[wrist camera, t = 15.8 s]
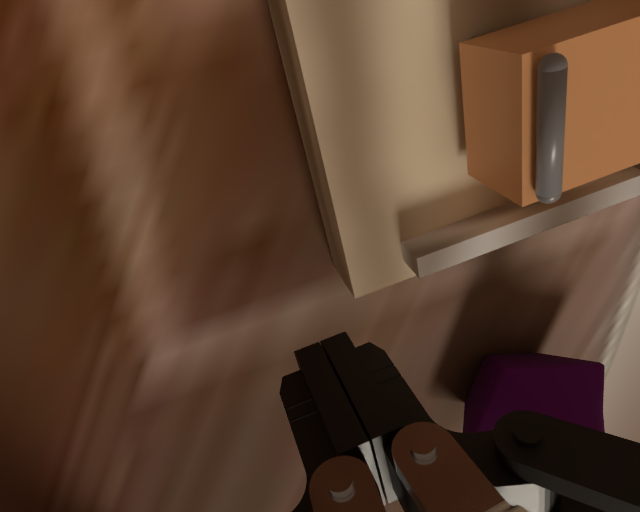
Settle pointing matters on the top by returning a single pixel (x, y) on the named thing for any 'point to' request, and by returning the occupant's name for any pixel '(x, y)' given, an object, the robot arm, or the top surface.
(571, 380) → the perfume bottle
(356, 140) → the dock
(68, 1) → the top surface
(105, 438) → the top surface
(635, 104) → the orange box with handle
